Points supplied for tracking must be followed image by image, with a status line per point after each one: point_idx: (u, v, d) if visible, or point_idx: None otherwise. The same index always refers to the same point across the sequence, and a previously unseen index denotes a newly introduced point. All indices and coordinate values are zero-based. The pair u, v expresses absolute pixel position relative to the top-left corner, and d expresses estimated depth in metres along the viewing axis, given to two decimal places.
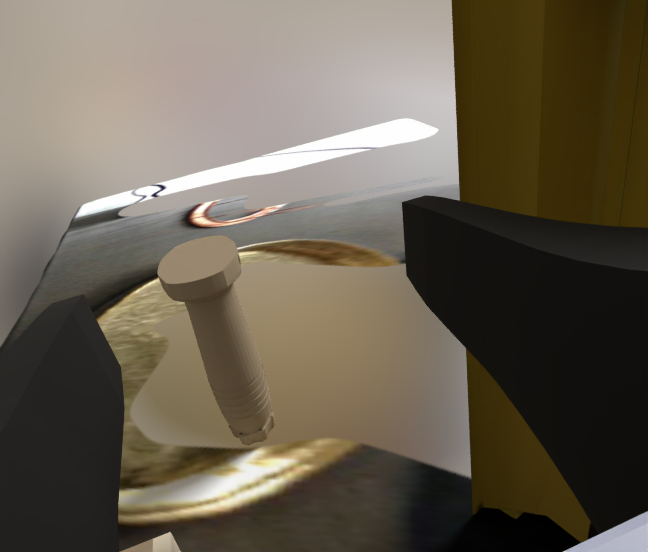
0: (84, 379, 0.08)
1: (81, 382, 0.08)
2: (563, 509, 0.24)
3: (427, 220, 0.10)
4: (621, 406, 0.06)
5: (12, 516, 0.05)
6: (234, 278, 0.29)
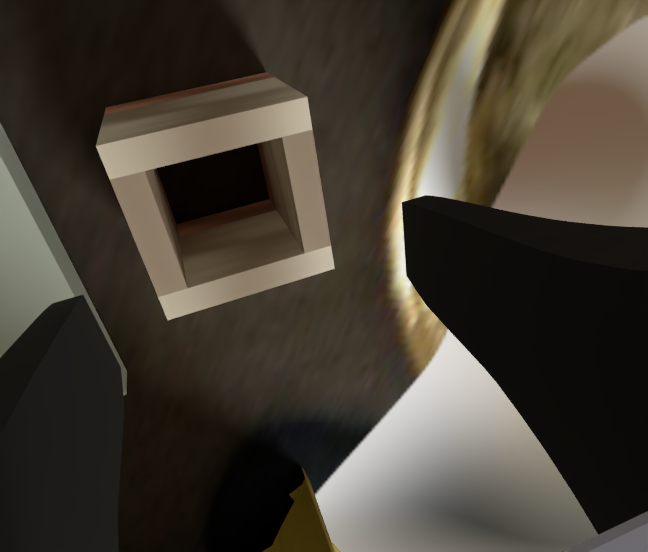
0: (84, 379, 0.08)
1: (81, 381, 0.08)
2: None
3: (427, 220, 0.10)
4: (621, 406, 0.06)
5: (12, 515, 0.05)
6: None
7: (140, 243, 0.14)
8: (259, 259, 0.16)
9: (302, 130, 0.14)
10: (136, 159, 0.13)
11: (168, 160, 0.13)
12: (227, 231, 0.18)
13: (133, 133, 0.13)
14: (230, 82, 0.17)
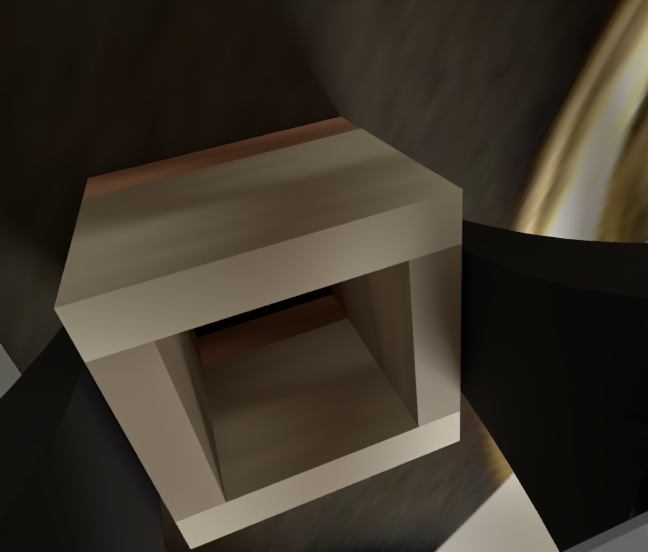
0: None
1: None
2: None
3: None
4: (575, 426, 0.06)
5: (81, 490, 0.05)
6: None
7: (145, 453, 0.07)
8: (342, 435, 0.09)
9: (441, 243, 0.07)
10: (138, 323, 0.06)
11: (200, 318, 0.07)
12: (278, 359, 0.11)
13: (131, 268, 0.06)
14: (288, 135, 0.10)
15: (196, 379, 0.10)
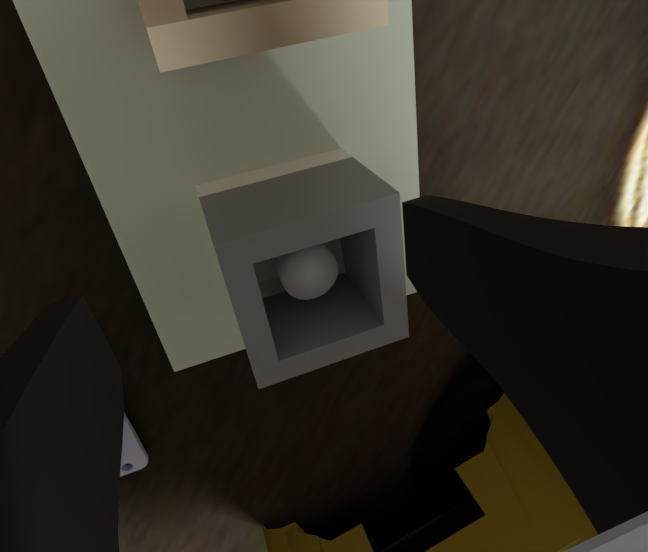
0: (84, 379, 0.08)
1: (81, 381, 0.08)
2: (485, 476, 0.29)
3: (427, 220, 0.10)
4: (621, 406, 0.06)
5: (12, 515, 0.05)
6: None
7: None
8: None
9: None
10: None
11: None
12: (241, 2, 0.13)
13: None
14: None
15: None
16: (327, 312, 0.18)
